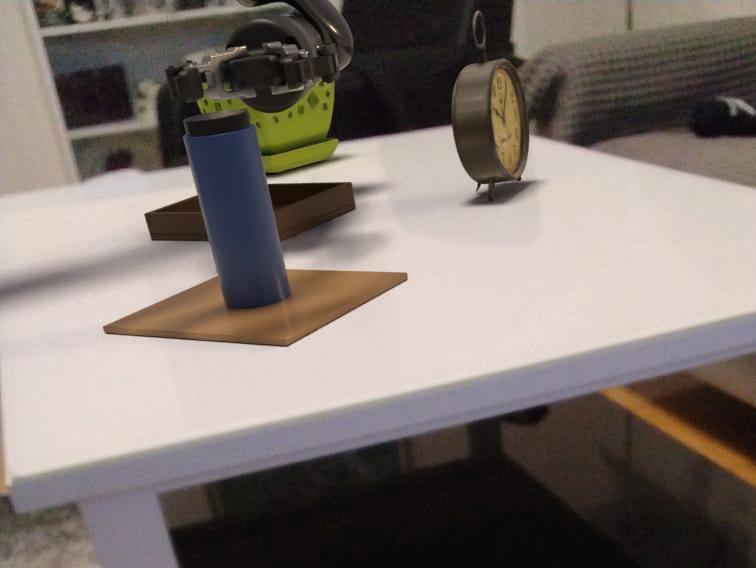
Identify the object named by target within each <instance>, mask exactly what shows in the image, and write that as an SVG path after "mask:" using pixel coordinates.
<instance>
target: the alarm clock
mask: <svg viewBox="0 0 756 568" xmlns="http://www.w3.org/2000/svg"><path fill="white" fill-rule="evenodd" d="M478 16H479V18H480V22H481V27H482V43H479V44H478V40H477V34H476V33H477V31H476V29H477V19H478ZM486 31H487V29H486V23H485V18H484V15H483V13H482V12H481V10H476V11H475V13H474V15H473V19H472V37H473V43H474V46H475V51H476V52H477V63H471V64H468V65H465V67H464V68H462V70H461V71H460V72H459V73H458V75H457V78H456V80H455V83H454V86H453V90H452V95H451V96H452V97H451V107H450V108H451V109H450V110H451V111H450V112H451V114H450V115H451V127H452V136H453V140H454V145H455V149H456V152H457V155H458V159H459V161H460V163H461V166H462V167H463V169H464V171H465V172H466V174H467V175H468V176H469V178H470V179H471V180H472V181H474V182H475V183H477V185H476V189H475V193H477V192H478V191H479V189H480V188H481V186H482V185H488V194H489V195H488V196H487V200H488V202H493V201H494V200H495V196H494V194H495V191H496V184H500V183H507V182H516V181H517V182H521V181H522V176H523V174H524V171H525V169H526V167H527V162H528V157H529V152H530V151H529V150H530V119H529V111H528V106H527V105H528V104H527V98H526V94H525V90H524V87H523V83H522V81H521V78H520V75H519V73H518V71H517V69H516V67H515V66H514V65H513V64H512V63H511V62H510V61H509V60H508V59H506V58H499V59H494V60H488V57H487V53H486V51H487V47H486V40H487V39H486V38H487V35H486Z"/></svg>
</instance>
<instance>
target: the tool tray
mask: <svg viewBox="0 0 756 568" xmlns="http://www.w3.org/2000/svg"><path fill="white" fill-rule="evenodd" d="M267 184H268V188H269V193H270V198H271V202H272V207H273V211H274V216H275V221H276V225H277V230H278V235H279V239H280V242H281V241H283V240H286V239H289V238H290V237H293V236H296V235H297V234H299V233H302V232H304V231H307V230H309V229H311V228H313V227H316V226H318V225H320V224H322V223H325V222H327V221H329V220H332V219H334V218H336V217H338V216H341V215H343V214H346V213H348V212H350V211H352V210H355V209H357V205H356V200H355V194H354V188H353V183H352V181H333V182H331V181H329V182H285V183H284V182H282V183H281V182H280V183H279V182H278V183H267ZM143 215H144V219H145V222H146V223H145V224H146V226H147V229H148V232H149V237H150V240H152V241H209V238H208V234H207V230H206V227H205V223H204V219H203V215H202V211H201V207H200V203H199V199H198V195H197V194H196V195H193V196H191V197H188V198H185V199H182V200H179V201H175V202H174V203H170V204H167V205H164V206H162V207H158V208H157V209H154V210H153V209H152V210H151V211H148V212H147V211H146V212H144V213H143Z"/></svg>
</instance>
